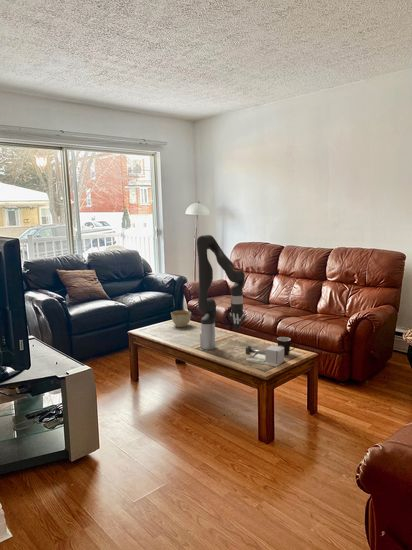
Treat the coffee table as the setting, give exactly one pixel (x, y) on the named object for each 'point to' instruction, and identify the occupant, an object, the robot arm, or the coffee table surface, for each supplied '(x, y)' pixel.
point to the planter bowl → (181, 318)
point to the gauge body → (269, 356)
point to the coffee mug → (285, 344)
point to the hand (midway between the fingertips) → (237, 329)
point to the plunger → (253, 351)
